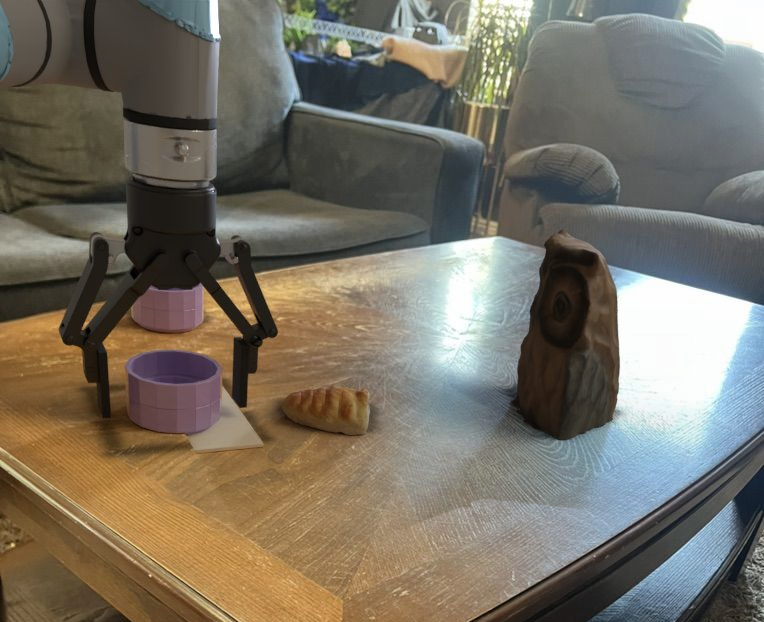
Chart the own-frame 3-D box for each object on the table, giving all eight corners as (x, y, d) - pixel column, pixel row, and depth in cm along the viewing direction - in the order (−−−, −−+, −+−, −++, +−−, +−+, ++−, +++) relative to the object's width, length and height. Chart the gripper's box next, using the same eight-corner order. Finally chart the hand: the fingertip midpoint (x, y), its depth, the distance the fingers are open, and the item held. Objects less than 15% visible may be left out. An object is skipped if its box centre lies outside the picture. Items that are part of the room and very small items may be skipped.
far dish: (139, 335, 97) (138, 292, 94) (126, 311, 104) (124, 270, 101) (211, 333, 101) (211, 291, 98) (193, 310, 107) (193, 270, 105)
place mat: (114, 461, 70) (114, 457, 70) (90, 397, 80) (90, 394, 80) (263, 446, 76) (263, 443, 76) (222, 389, 86) (223, 386, 86)
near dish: (138, 442, 73) (135, 388, 70) (120, 402, 79) (117, 351, 76) (231, 434, 77) (233, 382, 74) (207, 396, 83) (207, 347, 80)
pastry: (278, 429, 80) (281, 394, 78) (284, 402, 86) (286, 370, 84) (369, 438, 81) (374, 404, 79) (368, 411, 86) (372, 379, 84)
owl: (561, 446, 85) (612, 261, 75) (471, 404, 92) (507, 229, 82) (618, 420, 93) (671, 251, 83) (532, 383, 100) (571, 222, 90)
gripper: (17, 179, 58) (44, 434, 69) (322, 194, 69) (303, 413, 80) (8, 161, 64) (35, 400, 75) (292, 177, 74) (279, 384, 85)
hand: (174, 407), depth 77 cm, fingers open, 13 cm apart
